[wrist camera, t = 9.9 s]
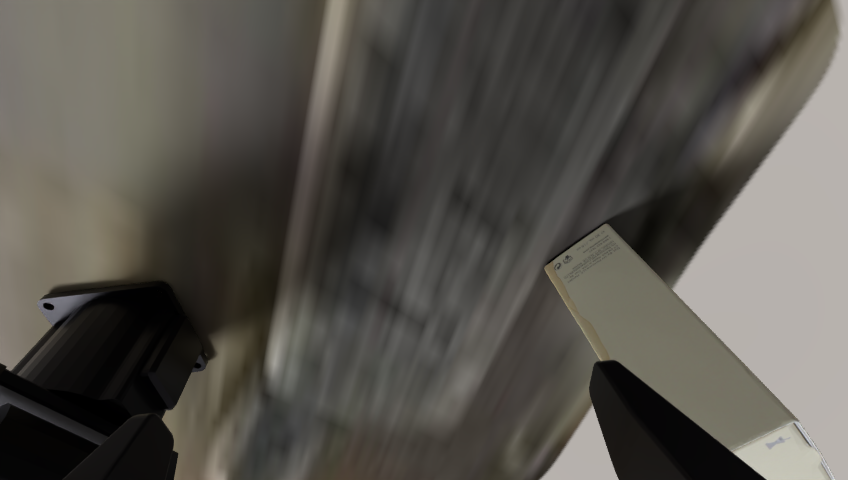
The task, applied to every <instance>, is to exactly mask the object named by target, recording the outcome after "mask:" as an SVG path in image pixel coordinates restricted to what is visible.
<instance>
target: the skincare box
mask: <svg viewBox="0 0 848 480" xmlns="http://www.w3.org/2000/svg"><path fill="white" fill-rule="evenodd" d="M544 269H545V271H546V273H547V274H548V276H549V278H550V279H551V281H552V283H553V284H554V286H555V287H556V289H557V290H558V292H559V294H560V295H561V297H562V299H563V300H564V302H565V304H566V305H567V307H568V308H569V310H570V312H571V313H572V315H573V316H574V318H575V320H576V321H577V323H578V324H579V326H580V328H581V329H582V331H583V332H584V334H585V336H586V337H587V339H588V341H589V342H590V344H591V345H592V347H593V349H594V350H595V352H596V354H597V355H598V357H599V359H600V360H601V361H605V360H616V361H618V362H619V363H621V364H622V365H623V366H625V367H626V368H627V369H628V370H630V371H631V372H632V373H633V374H635V375H636V376H637V377H638V378H640V379H641V380H642V381H643V382H645V383H646V384H647V385H648V386H650V387H651V388H652V389H653V390H655V391H656V392H657V393H658V394H660V395H661V396H662V397H664V398H665V399H666V400H667V401H669V402H670V403H671V404H672V405H674V406H675V407H676V408H677V409H679V410H680V411H681V412H682V413H684V414H685V415H686V416H687V417H689V418H690V419H691V420H692V421H694V422H695V423H696V424H697V425H699V426H700V427H701V428H702V429H704V430H705V431H706V432H707V433H709V434H710V435H711V436H712V437H714V438H715V439H716V440H718V441H719V442H720V443H721V444H723V445H724V446H725V447H726V448H728V449H729V450H730V451H731V452H733V453H734V454H735V455H736V456H738V457H739V458H740V459H741V460H743V461H744V462H745V463H746V464H748V465H749V466H750V467H751V468H753V469H754V470H755V471H756V472H758V473H759V474H760V475H761V476H763V477H764V478H765V479H767V480H835V478H834V476H833V474H832V472H831V470H830V469H829V467H828V465H827V463H826V461H825V459H824V458H823V456H822V454H821V453H820V451H819V450H818V448H817V447H816V445H815V444H814V442H813V441H812V439H811V438H810V436H809V435H808V433H807V432H806V431H805V429H804V428H803V427H802V425H801V424H800V422H799V420H798V419H797V418H796V417H795V416H794V415H793V414H792V413H791V412H790V411H789V410H788V409H787V408H786V407H785V406H784V405H783V404H782V403H781V402H780V400H779V399H778V398H777V397H776V396H775V395H774V394H773V393H772V392H771V391H770V390H769V389H768V388H767V387H766V386H765V385H764V384H763V383H762V382H761V381H760V380H759V379H758V378H757V377H756V376H755V375H754V374H753V373H752V372H751V371H750V369H749V368H748V367H747V366H746V365H745V364H744V363H743V362H742V361H741V360H740V359H739V358H738V357H737V356H736V355H735V354H734V353H733V352H732V351H731V350H730V349H729V348H728V347H727V346H726V345H725V344H724V343H723V342H722V341H721V340H720V339H719V338H718V337H717V336H716V335H715V333H714V332H712V330H711V329H710V328H709V327H708V326H707V325H706V324H705V323H704V322H703V321H702V320H701V319H700V318H699V317H698V316H697V315H696V314H695V313H694V312H693V311H692V310H691V309H690V308H689V307H688V306H687V305H686V304H685V303H684V302H683V301H682V300H681V299H680V298H679V297H678V295H677V294H676V293H675V292H674V291H673V290H672V289H671V288H670V287H669V286H668V285H667V284H666V283H665V282H664V281H663V280H662V279H661V278H660V277H659V276H658V275H657V274H656V273H655V272H654V271H653V270H652V269H651V268H650V267H649V266H648V264H647V263H646V262H645V261H644V260H643V259H642V258H641V257H640V256H639V255H638V254H637V253H636V252H635V251H634V250H633V249H632V248H631V247H630V246H629V245H628V244H627V243H626V242H625V241H624V240H623V239H622V238H621V237H620V236H619V235H618V234H617V233H616V232H615V231H614V230H613V229H612V227H611V226H610V225H608V224H604V225H602V226H601V227H600V228H598V229H597V230H595V231H594V232H593V233H591V234H589V235H588V236H587V237H585V238H584V239H582V240H581V241H580V242H578V243H577V244H575V245H574V246H572V247H571V248H570V249H568V250H567V251H565V252H564V253H563V254H561V255H560V256H558V257H557V258H556V259H555V260H553V261H552V262H551V263H549V264H548V265H546V266H545V268H544Z"/></svg>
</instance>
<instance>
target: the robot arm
mask: <svg viewBox="0 0 848 480" xmlns="http://www.w3.org/2000/svg"><path fill="white" fill-rule="evenodd" d="M157 290H159V291H161V292H162V293H160V292H158V291H157ZM37 305H38V307H39V309H40V310H41V311H42V313H43V314H44V315H45V317H46V318H47V319H48V321H49V322H50V323H51V325H52V327H51V329H50V330H49V331H48V332H47V333H46V334H45V335H44V336H43V337H42V338H41V339H40V340H39V341H38V343H37V344H36V345H35V346H34V347H33V348H32V349H31V350H30V351H29V352H28V353H27V354H26V356H25V357H24V358H23V359H22V360H21V361H20V362H19V363H18V364H17V365H16V366H15V367H14V369H13V370H12V371H9V370H7V369H6V367H7V366H5V365H3V364H1V363H0V480H174V475H175V469H176V464H177V458H178V453H177V452H175V451H173V446H174V439H173V435H172V433H171V432H170V431H169V429H168V428H167V426H166V425H165V424H164V422H163V421H162V418H163V416H164V414H165V412H166V410H172V409H173V408H174V407H175V405H176V404H177V402H178V400H179V398H180V396H181V393H182V391H183V389H184V387H185V385H186V383H187V381H188V378H189V376H190V374H191V372H198V371H203V370H204V369H205V368H206V365H207V363H208V359H207V357H206V355H205V353H204V351H203V349H202V345H201V343H200V341H199V339H198V337H197V335H196V333H195V331H194V329H193V327H192V325H191V324H190V322H189V320H188V318H187V317H186V316H185V314H184V312H183V310H182V308H181V306H180V305H179V303H178V301H177V299H176V297H175V295H174V293H173V291H172V289H171V287H170V286H169V285H168V284H166V283H164V282H149V283H140V284H131V285H123V286H114V287H105V288H97V289H88V290H79V291H71V292H62V293H53V294H47V295H45V296H44V297H43V298H41V299H40V300H39V301H38V304H37ZM589 392H590V397H591V400H592V403H593V406H594V409H595V412H596V415H597V418H598V421H599V424H600V427H601V430H602V434H603V437H604V440H605V442H606V446H607V448H608V452H609V455H610V458H611V461H612V463H613V466H614V469H615V472H616V474H617V477H618V479H619V480H767V479H765V478H764V477H763V476H761V475H760V474H759V473H758V472H756V471H755V470H754V469H753V468H751V467H750V466H749V465H748V464H746V463H745V462H744V461H743V460H741V459H740V458H739V457H738V456H736V455H735V454H734V453H733V452H731V451H730V450H729V449H728V448H726V447H725V446H724V445H723V444H721V443H720V442H719V441H718V440H716V439H715V438H714V437H712V436H711V435H710V434H709V433H707V432H706V431H705V430H704V429H702V428H701V427H700V426H699V425H697V424H696V423H695V422H694V421H692V420H691V419H690V418H689V417H687V416H686V415H685V414H684V413H682V412H681V411H680V410H679V409H677V408H676V407H675V406H674V405H672V404H671V403H670V402H669V401H667V400H666V399H665V398H664V397H662V396H661V395H660V394H658V393H657V392H656V391H655V390H653V389H652V388H651V387H650V386H648V385H647V384H646V383H645V382H643V381H642V380H641V379H640V378H638V377H637V376H636V375H635V374H633V373H632V372H631V371H630V370H628V369H627V368H626V367H625V366H623V365H622V364H621V363H619V362H618V361H616V360H605V361H598V362H596V363H595V364H594V367H593V371H592V376H591V381H590V386H589Z"/></svg>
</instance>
